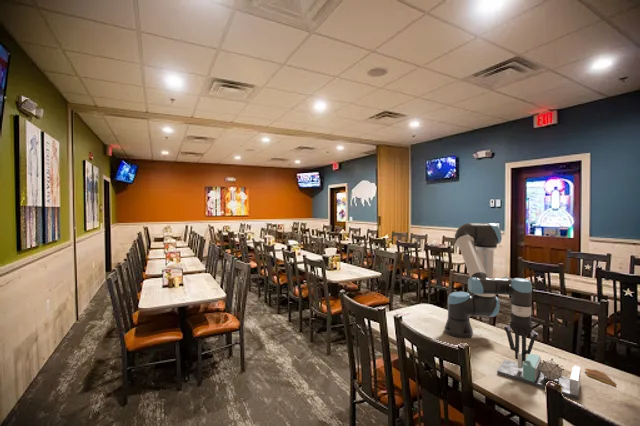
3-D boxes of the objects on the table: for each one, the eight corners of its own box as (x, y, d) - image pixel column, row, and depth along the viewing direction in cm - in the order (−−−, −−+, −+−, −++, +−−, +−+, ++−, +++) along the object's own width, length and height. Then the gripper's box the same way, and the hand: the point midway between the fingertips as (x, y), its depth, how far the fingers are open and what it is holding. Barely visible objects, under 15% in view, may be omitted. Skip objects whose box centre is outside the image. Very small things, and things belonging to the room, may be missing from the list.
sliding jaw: (529, 366, 141) (529, 353, 141) (541, 369, 138) (541, 356, 138) (523, 378, 131) (523, 364, 131) (535, 382, 128) (535, 368, 128)
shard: (616, 388, 128) (617, 383, 128) (594, 384, 130) (594, 380, 130) (602, 374, 138) (602, 370, 138) (581, 371, 140) (581, 367, 140)
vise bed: (504, 362, 148) (505, 346, 148) (580, 384, 129) (580, 367, 129) (497, 373, 138) (497, 357, 137) (577, 400, 119) (578, 380, 119)
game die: (556, 390, 129) (572, 379, 123) (535, 380, 131) (549, 369, 125) (552, 371, 136) (567, 359, 130) (531, 362, 138) (545, 350, 132)
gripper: (502, 312, 139) (501, 365, 139) (537, 320, 130) (536, 376, 130) (506, 308, 144) (505, 359, 145) (540, 315, 135) (539, 369, 136)
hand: (520, 367), depth 137 cm, fingers closed
